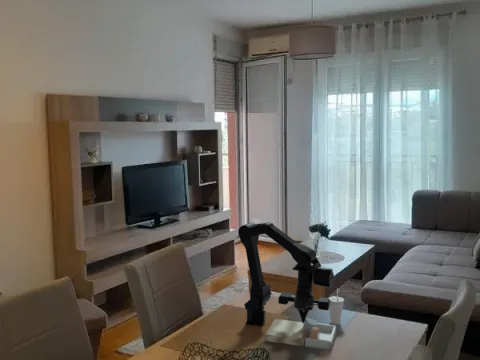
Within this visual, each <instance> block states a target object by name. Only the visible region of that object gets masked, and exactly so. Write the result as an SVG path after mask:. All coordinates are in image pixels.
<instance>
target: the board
mask: <svg viewBox="0 0 480 360" xmlns="http://www.w3.org/2000/svg"><path fill="white" fill-rule="evenodd" d="M303 325H304V323H302V321H294V320H288V319H287V320H286V319H278V318H275V319H274V320H273V321H272V324H271V325H270V327H269V328H268V330H266V333H265V337H264V338H265V340H264V341H265V342H272V343H276V344H277V343H278V344H285V345H292V346H298V347H305V338H308V337H309V335H310V333H311V330H308V329H305V328H303Z"/></svg>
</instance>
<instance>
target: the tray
mask: <svg viewBox="0 0 480 360" xmlns="http://www.w3.org/2000/svg"><path fill="white" fill-rule="evenodd" d="M316 327H318V328H320V335H319V339H313V338H310V336H311V332H310V333H309V335H308V338H305V345H304V348H305V347H306V348H313V349H319V350H327V351H332V347H333V345H334V342H335V339H336V335H337V324H328V323H319V322H317V325H316Z"/></svg>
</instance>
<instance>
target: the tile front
mask: <svg viewBox="0 0 480 360" xmlns="http://www.w3.org/2000/svg"><path fill="white" fill-rule="evenodd" d="M310 333H311V336H310V338H313V339H319V335H320V328H318V327H312V330H311V331H310Z"/></svg>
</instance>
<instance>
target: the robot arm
mask: <svg viewBox="0 0 480 360" xmlns="http://www.w3.org/2000/svg"><path fill="white" fill-rule="evenodd" d="M237 231H238V232H237V233H238V237H239V240H240V242H241V244H242V246H244V248H245V254H246V258H247V264H248V269H249V270H248V272H249V275H250V281H251V282H250V283H251V285H250V289H249V300H248V301H247V302H245V303H244V304H243V305H244V310H246V321H245V325H250V326H257V327H258V326H259V327H261V326H263V324H264V323H265V322H266V314H267V313H266V312H267V311H266V310H265V306H266V305H267V303H268V302H269V301H270V299H271V297H272V296H271V295H272V291H271V285H270V284H267V283H266V282H265V280H264V275H263V271H262V265H261V258H260V253H259V252H260V251H259V247H258V243H259V240H260V236H261V235H266V236H267V237H269V238H270V239H271V240H272V241H274V243H277V244H278V245H279V246H281V247H282V248H283V249H284V250H285V251H287V252H288V253H289V254H290V256H291V257H292V259H293V260H294V261H295V262H296V264H295V266H293V267H292V270H293V271H297V281H296V282H297V284H296V285H297V287H296V292H295V295H294V296H293V294H292V293H291V292H284V291H283V292H281V293H280V295H279V296H278V300H277V301H278V302H277V303H278V304H279V305H286V306H287V305H288V304H289V303H290V302H291V303H292V302H293V304H294V305H293V308H294V309H297V311H298V312H299V315H300V318H301V322H302V323H304V322H305V319H306V317H307V316H308V313H309V311H313V309H314V308H315V306H317V308H318V310H319V311H320V310H322V311H329V307H330V299H329V297H323V296H321V297H319V299H315V297H314V295H313V287H314V285H315V286H319V287H322V288H323V287H324V288H329V289H332V288H333V286H334V283H335V274H334V271H333V270H334V269H333V268H331V267H330V268H329V267H327V268H325V267H322V264H321V262H320V261H319V259H318V258H317V255H316V252H315V250H314V249H313V248H311V247H310V246H307V245H305V244H301V243H299V242H297V241H296V240H294V239H293V238H291V237H290V236H289V235H288V234H287V233H285V232H283V231H282V230H281V229H280V228H279V227H277V226H275V224H274V223H273V222H271V221H268V222H267V221H266V222H263V223H262V222H261V223H254V222H249V223H246V224H243V225H241V226H240V227H239V228H238V230H237Z"/></svg>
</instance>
